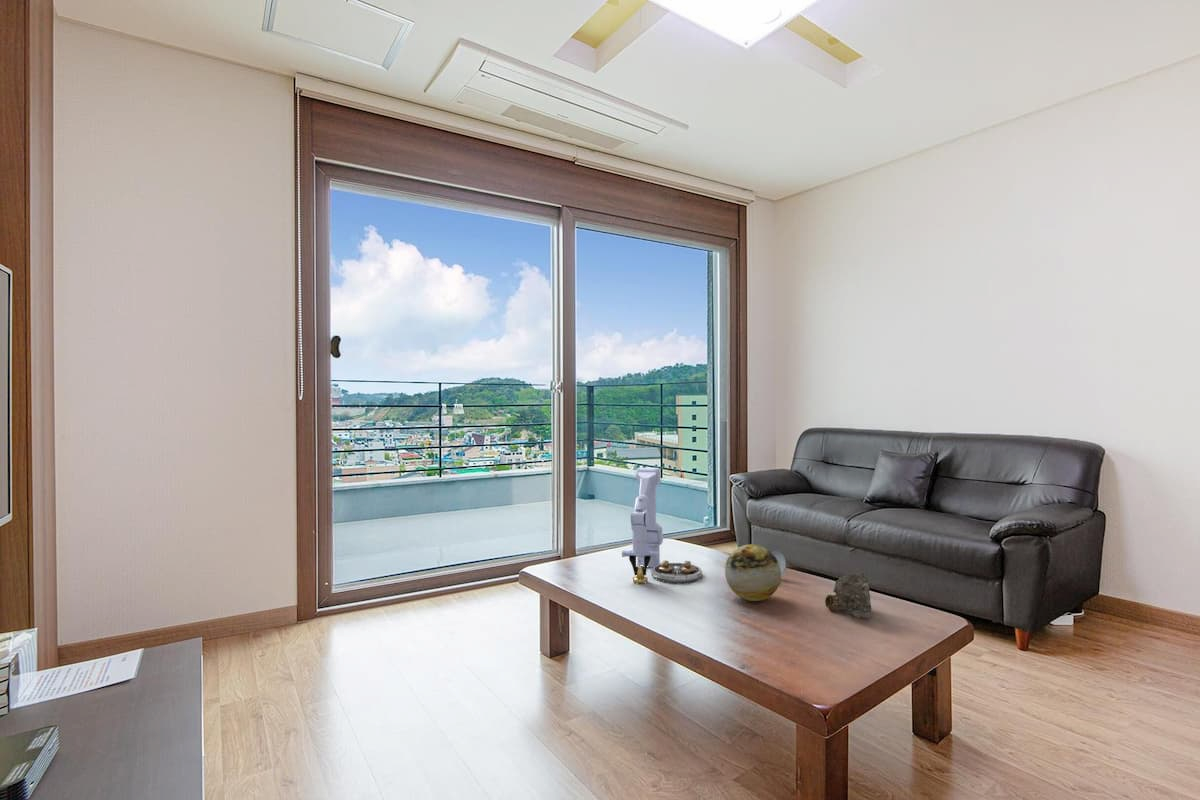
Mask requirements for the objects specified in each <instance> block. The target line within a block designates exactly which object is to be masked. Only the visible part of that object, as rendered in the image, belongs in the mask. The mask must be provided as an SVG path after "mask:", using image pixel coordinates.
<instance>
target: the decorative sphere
mask: <svg viewBox="0 0 1200 800" xmlns="http://www.w3.org/2000/svg"><path fill="white" fill-rule="evenodd" d="M724 576H725V578H726V582H727V584H728V587H729V588H730V590H731V591H732V592H733V593H734V594H735V595H736V596H738V597H739V598H741V599H744V600H745V601H750V602H761V601H764V600H766V599H768V598H770V597H771V596H773V595H774V593H776V591H777V590H778V588H779V586H780V583H781V579H782V574H781V569H780V565H779V563H778V561H777V559H776V557H775V556H774V555H773V554H772V552H771V550H770V549H768V548H767V547H764V546H762V545H759V544H755V543H754V544H752V543H750V544H744V545H740V546H739V547H736V549H734V550H733V551H732V552H731V553H730V554H729V556H728V557H727V560H726V563H725V566H724Z"/></svg>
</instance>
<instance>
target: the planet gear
mask: <svg viewBox="0 0 1200 800" xmlns="http://www.w3.org/2000/svg"><path fill="white" fill-rule="evenodd" d="M633 582H636V583H644V584H646V583H645V582H649V581H648V577H647V576H645V575H644V566H637V565H636V575H635V576H633V577H632V583H633ZM636 583H635V584H636Z"/></svg>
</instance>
